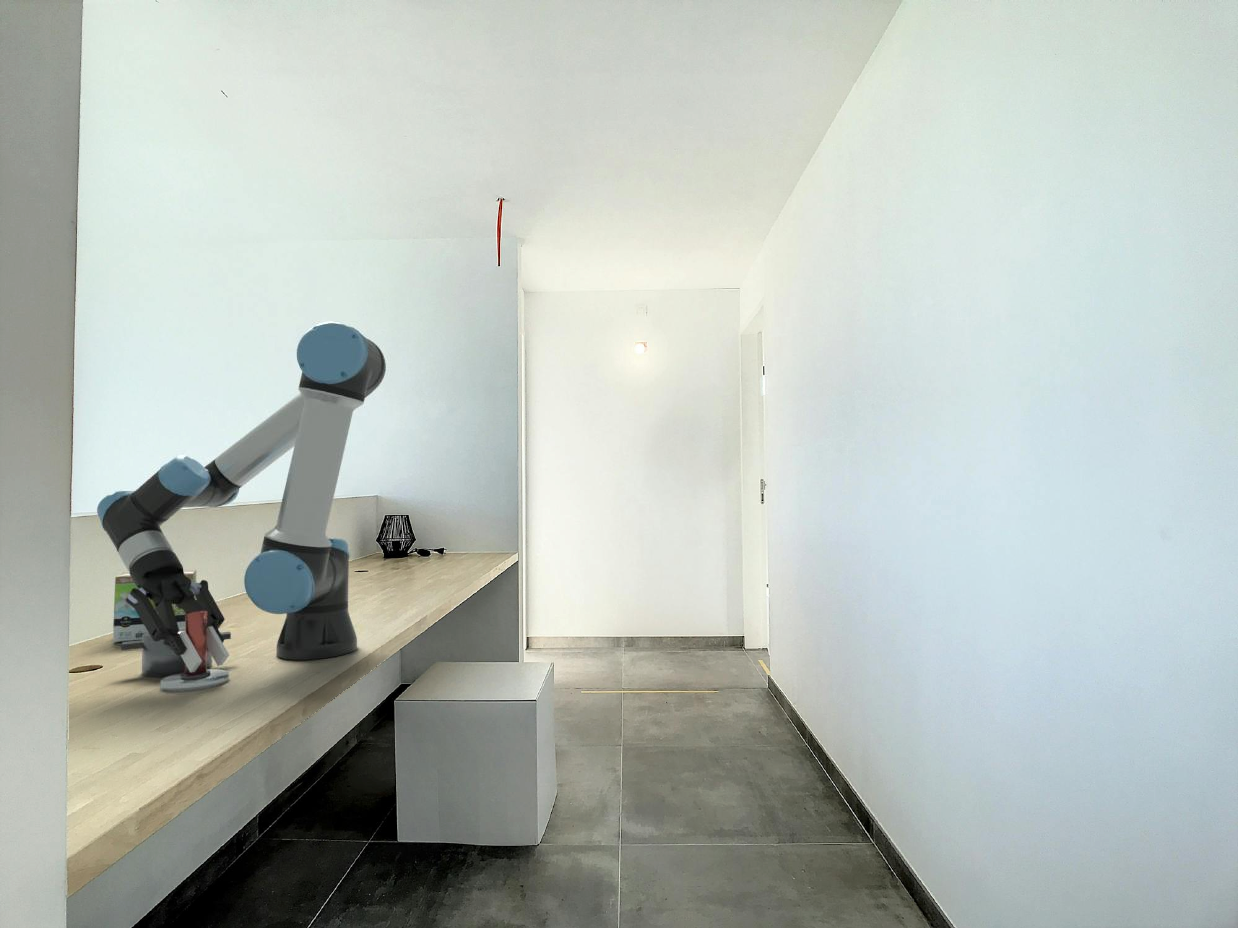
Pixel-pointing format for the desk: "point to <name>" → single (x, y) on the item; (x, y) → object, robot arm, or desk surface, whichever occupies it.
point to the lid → (201, 676)
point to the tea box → (126, 616)
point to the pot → (162, 656)
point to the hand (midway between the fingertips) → (210, 663)
